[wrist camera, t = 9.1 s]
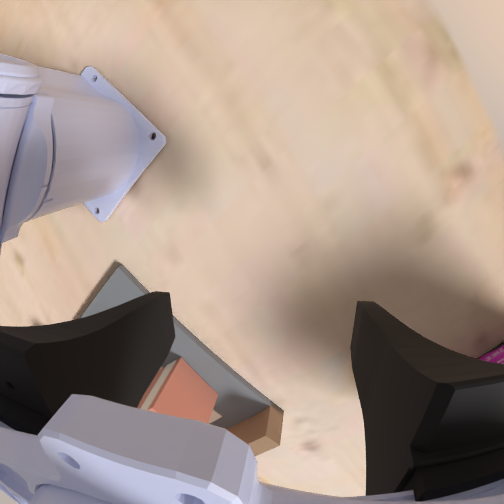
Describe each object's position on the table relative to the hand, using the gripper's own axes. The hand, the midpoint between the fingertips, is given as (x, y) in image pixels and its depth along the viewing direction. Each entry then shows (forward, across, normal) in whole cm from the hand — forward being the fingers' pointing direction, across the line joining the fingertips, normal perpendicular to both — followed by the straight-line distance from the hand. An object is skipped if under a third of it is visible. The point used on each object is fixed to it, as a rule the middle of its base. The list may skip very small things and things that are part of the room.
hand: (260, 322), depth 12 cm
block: (+9, +10, +13) cm, 19 cm away
